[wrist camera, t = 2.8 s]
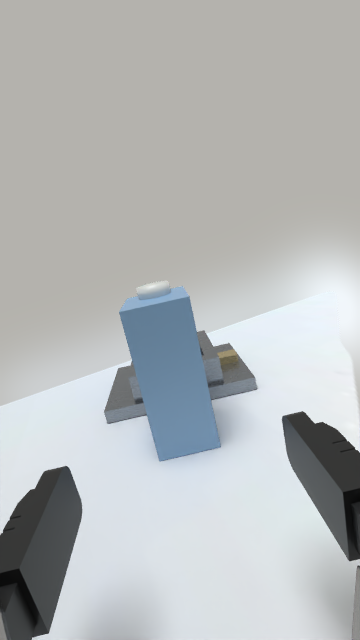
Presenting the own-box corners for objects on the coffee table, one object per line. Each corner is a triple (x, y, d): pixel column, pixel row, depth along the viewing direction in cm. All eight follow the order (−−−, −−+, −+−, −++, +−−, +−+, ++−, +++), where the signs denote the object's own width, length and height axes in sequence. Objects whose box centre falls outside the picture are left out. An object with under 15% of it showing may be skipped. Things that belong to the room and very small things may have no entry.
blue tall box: (159, 461, 21) (115, 299, 18) (159, 421, 26) (124, 288, 23) (220, 447, 21) (186, 283, 18) (208, 409, 26) (180, 276, 23)
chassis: (107, 423, 27) (96, 387, 26) (120, 377, 37) (112, 349, 36) (256, 389, 27) (250, 352, 26) (230, 352, 37) (225, 324, 36)
